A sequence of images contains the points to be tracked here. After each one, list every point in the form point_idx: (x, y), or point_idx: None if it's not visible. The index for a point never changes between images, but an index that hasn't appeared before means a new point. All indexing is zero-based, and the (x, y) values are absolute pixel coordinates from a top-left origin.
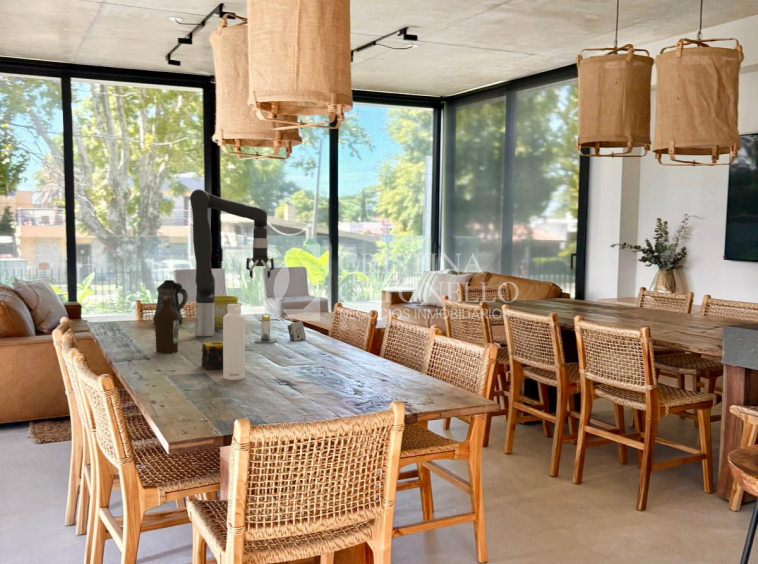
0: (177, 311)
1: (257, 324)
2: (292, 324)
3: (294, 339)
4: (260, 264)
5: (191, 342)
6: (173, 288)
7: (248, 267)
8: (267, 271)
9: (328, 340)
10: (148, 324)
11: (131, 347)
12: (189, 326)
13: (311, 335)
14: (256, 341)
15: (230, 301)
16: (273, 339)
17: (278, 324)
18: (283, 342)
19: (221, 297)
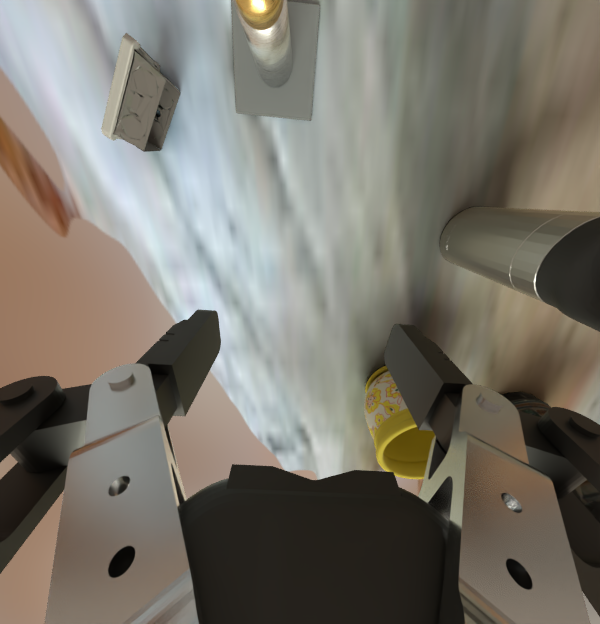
0: None
1: (312, 398)
2: (125, 36)
3: (157, 63)
4: (297, 540)
5: (566, 47)
6: (595, 501)
7: (573, 449)
8: (173, 360)
9: (34, 88)
10: (551, 402)
11: None
12: (470, 377)
13: (139, 223)
14: (309, 18)
15: (404, 419)
16: (245, 87)
17: (264, 397)
18: (198, 28)
19: (421, 470)
